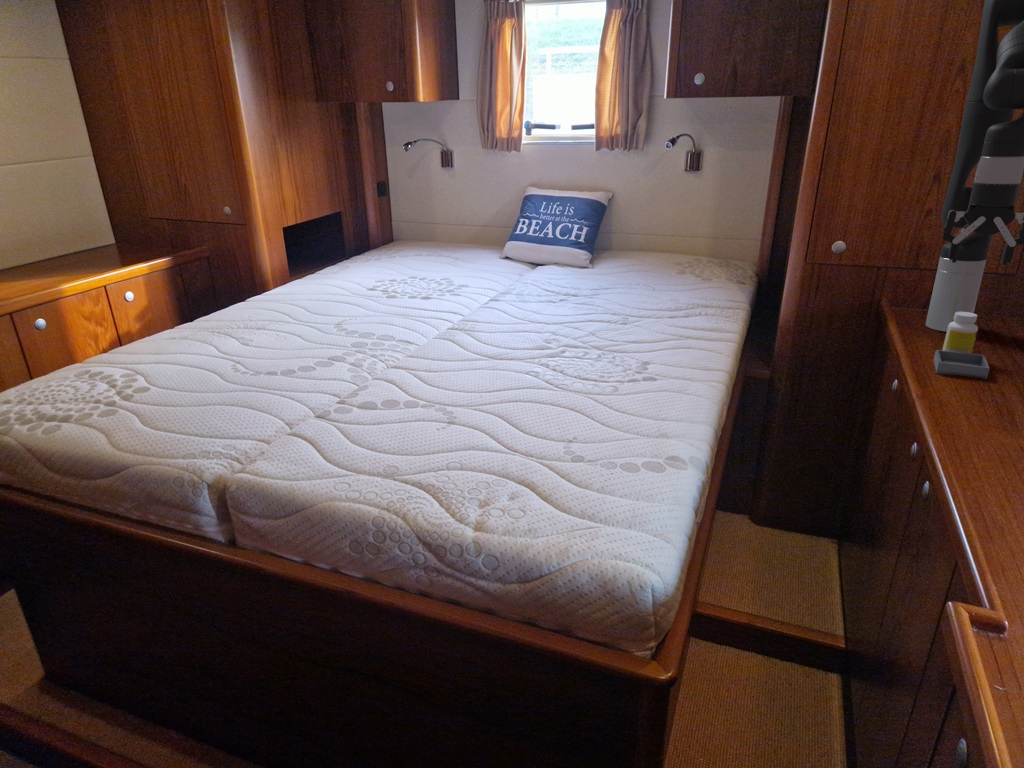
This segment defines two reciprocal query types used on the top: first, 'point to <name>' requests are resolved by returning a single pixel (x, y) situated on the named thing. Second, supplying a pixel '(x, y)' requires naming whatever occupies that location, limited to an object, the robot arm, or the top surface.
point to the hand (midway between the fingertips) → (977, 263)
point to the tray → (961, 364)
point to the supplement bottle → (961, 333)
